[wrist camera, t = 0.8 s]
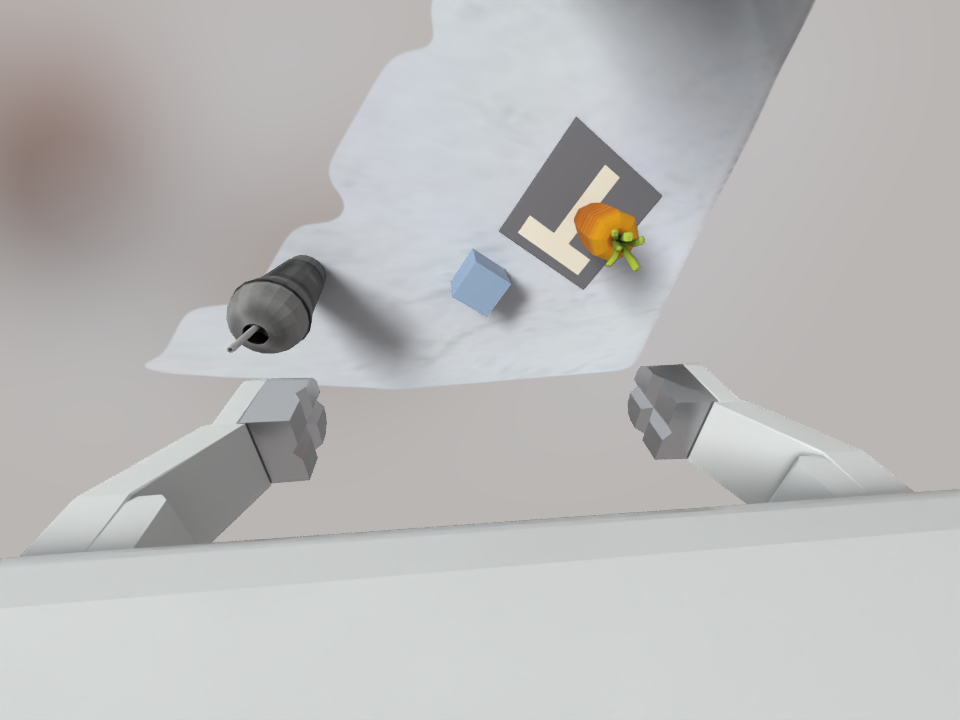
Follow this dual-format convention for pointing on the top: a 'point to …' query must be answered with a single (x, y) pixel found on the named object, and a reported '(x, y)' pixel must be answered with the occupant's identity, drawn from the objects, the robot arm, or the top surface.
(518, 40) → the top surface
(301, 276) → the beverage cup
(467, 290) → the slate cube
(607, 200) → the letter mat
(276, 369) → the top surface
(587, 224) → the carrot
